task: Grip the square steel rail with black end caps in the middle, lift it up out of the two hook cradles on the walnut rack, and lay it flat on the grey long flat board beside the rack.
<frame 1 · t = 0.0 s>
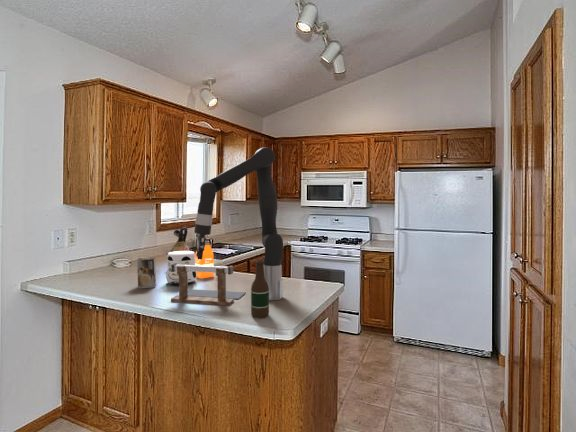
hand: (199, 257, 173), 22 cm above the countertop, tool pointing down, fingers open, 8 cm apart
orange juice: (204, 276, 234), on the countertop
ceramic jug: (181, 270, 251), on the countertop
walnut rack: (202, 301, 179), on the countertop
grey long flat board: (212, 294, 192), on the countertop
beer bottle: (260, 316, 159), on the countertop
steel rail: (202, 271, 178), point 15 cm above the countertop, touching walnut rack
milk container: (181, 283, 217), on the countertop
coffee box: (147, 287, 208), on the countertop
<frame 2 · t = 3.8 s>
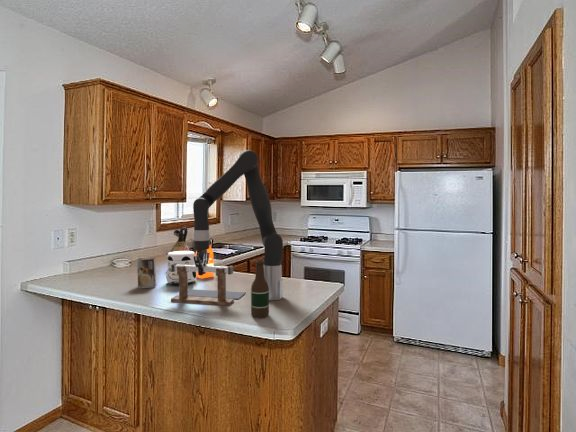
hand: (202, 274, 178), 14 cm above the countertop, tool pointing down, fingers closed on steel rail, 2 cm apart
steel rail: (202, 271, 178), point 15 cm above the countertop, touching gripper, walnut rack
everything else where it was.
when the fingers open (2 cm above the countertop, at t = 10.5 s): steel rail drops 2 cm, resting on grey long flat board.
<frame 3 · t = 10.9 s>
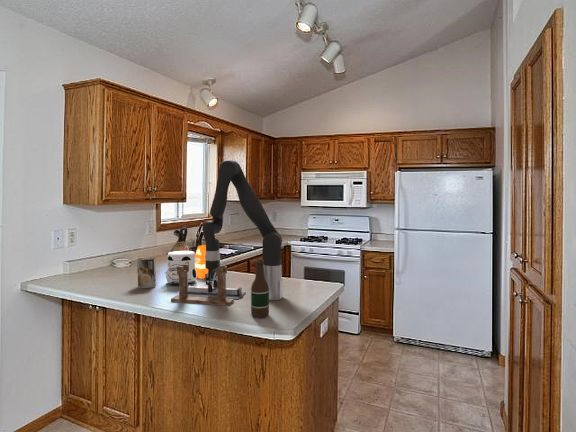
hand: (212, 290, 191), 2 cm above the countertop, tool pointing down, fingers open, 6 cm apart
steel rail: (212, 292, 191), point 1 cm above the countertop, touching grey long flat board
everything else where it was.
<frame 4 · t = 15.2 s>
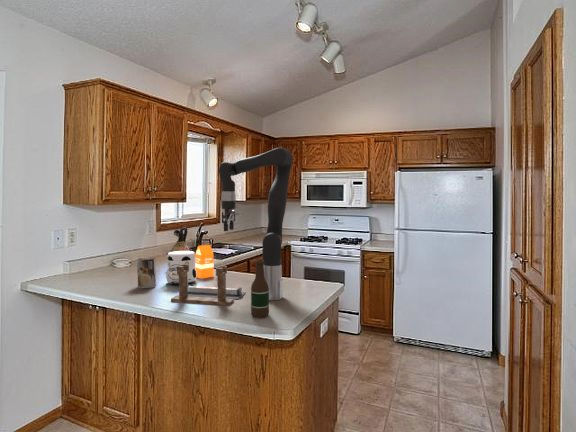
hand: (228, 230, 196), 33 cm above the countertop, tool pointing down, fingers open, 8 cm apart
nothing on the countertop moved.
at the end: steel rail inside the target area (0.1 cm from its centre), point 1.0 cm above the countertop; the gripper is holding nothing; steel rail tilted 0° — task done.
